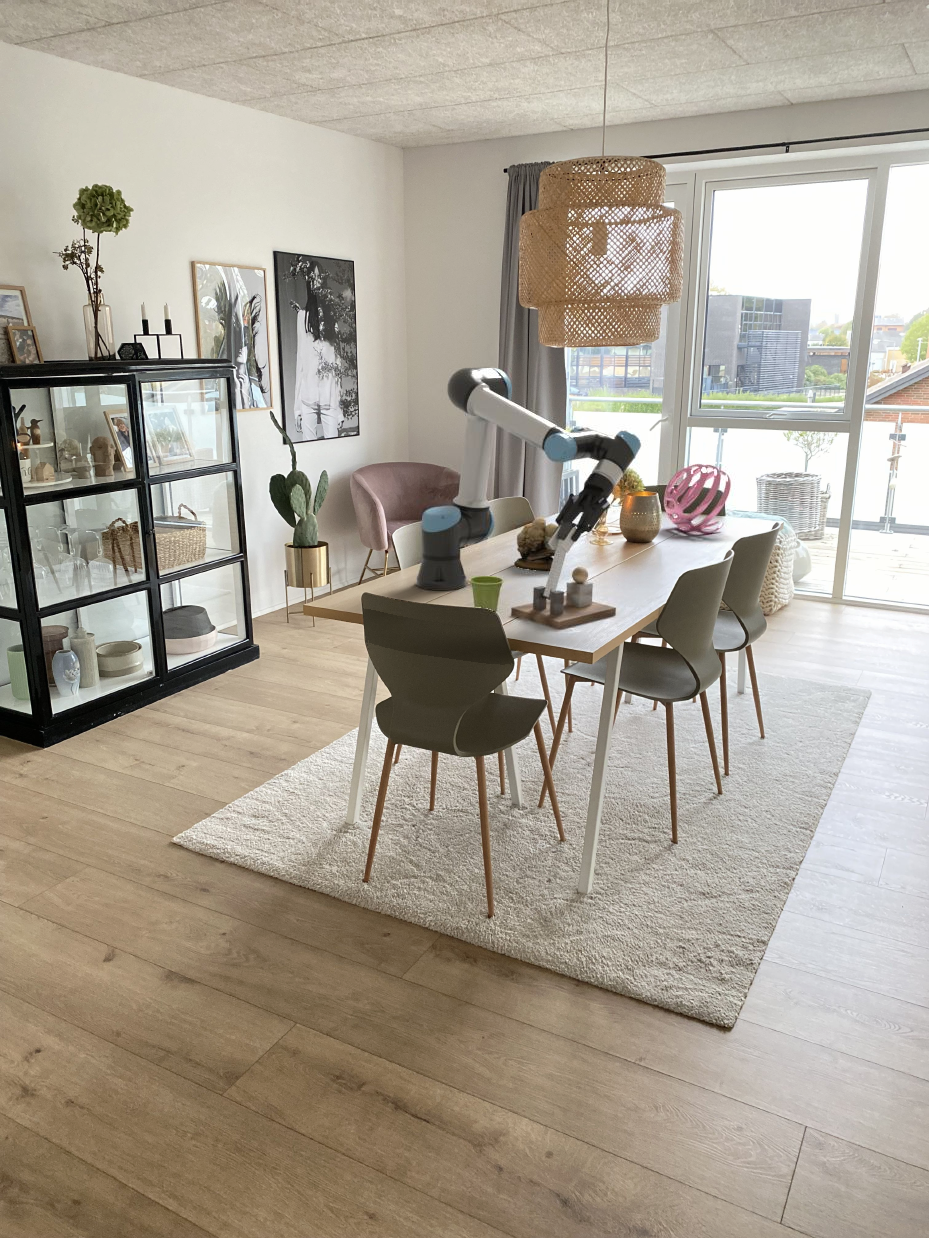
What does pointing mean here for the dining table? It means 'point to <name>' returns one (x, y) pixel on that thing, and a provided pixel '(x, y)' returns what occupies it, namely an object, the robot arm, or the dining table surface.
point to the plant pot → (486, 591)
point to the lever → (557, 559)
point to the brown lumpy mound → (536, 546)
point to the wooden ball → (579, 574)
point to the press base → (564, 607)
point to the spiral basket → (691, 495)
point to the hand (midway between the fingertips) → (557, 548)
